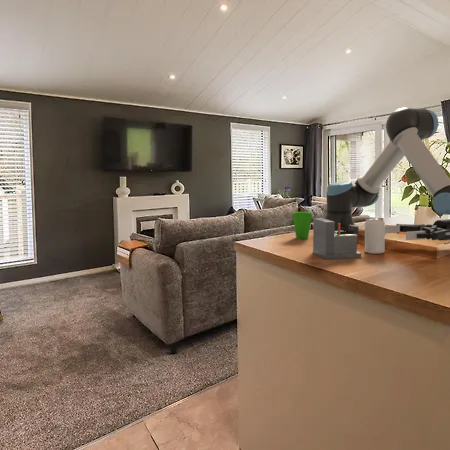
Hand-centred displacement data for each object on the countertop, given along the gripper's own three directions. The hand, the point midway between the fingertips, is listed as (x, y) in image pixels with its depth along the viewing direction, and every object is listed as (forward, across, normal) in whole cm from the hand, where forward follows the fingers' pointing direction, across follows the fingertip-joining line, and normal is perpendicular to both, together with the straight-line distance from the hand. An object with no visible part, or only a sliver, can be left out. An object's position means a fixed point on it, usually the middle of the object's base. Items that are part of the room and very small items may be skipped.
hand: (394, 232), depth 124 cm
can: (+7, 0, -7) cm, 10 cm away
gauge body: (+22, 0, -7) cm, 23 cm away
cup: (+22, +33, -7) cm, 40 cm away
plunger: (+19, 0, -4) cm, 20 cm away
